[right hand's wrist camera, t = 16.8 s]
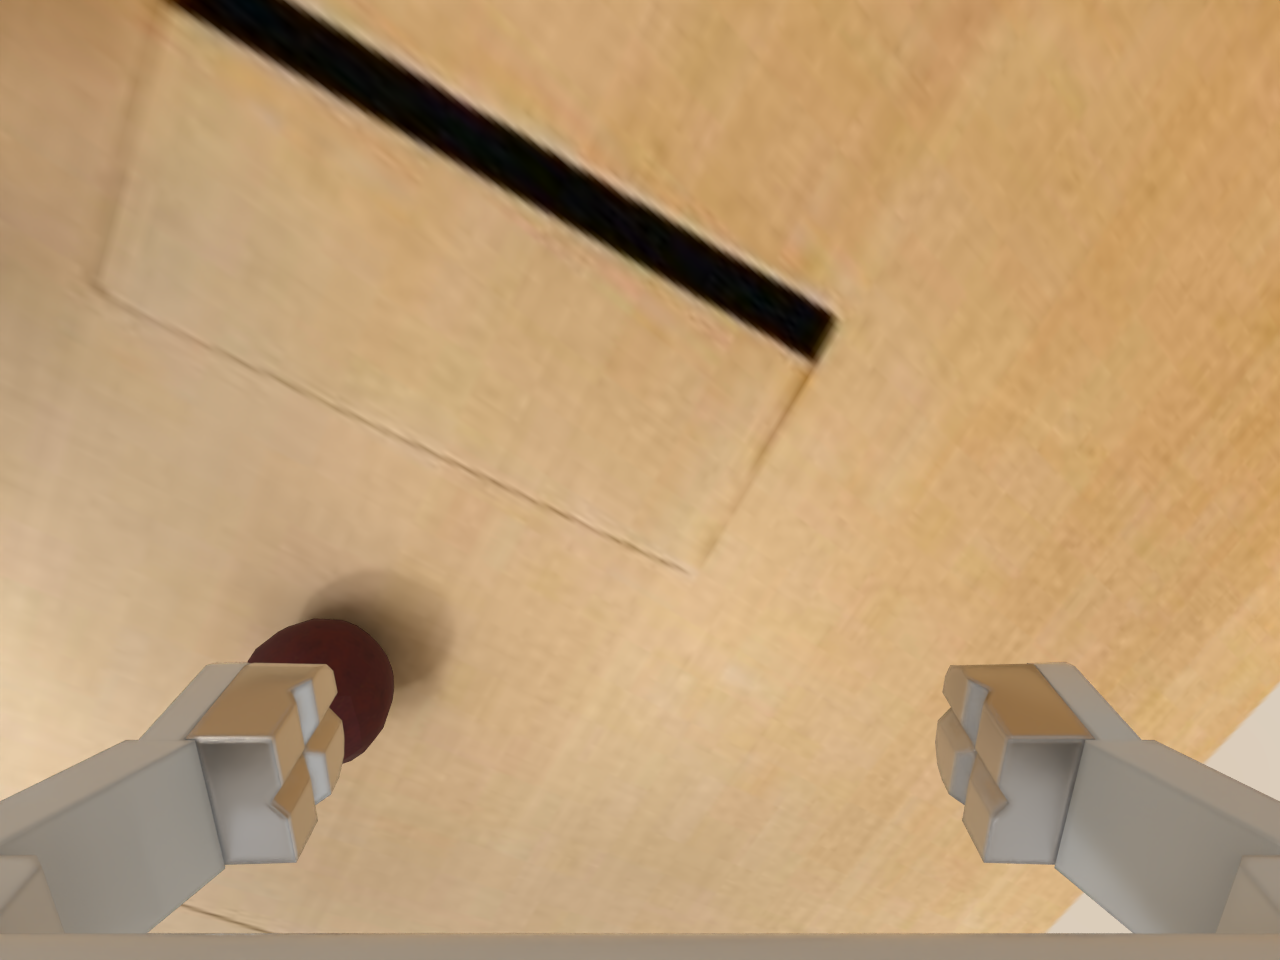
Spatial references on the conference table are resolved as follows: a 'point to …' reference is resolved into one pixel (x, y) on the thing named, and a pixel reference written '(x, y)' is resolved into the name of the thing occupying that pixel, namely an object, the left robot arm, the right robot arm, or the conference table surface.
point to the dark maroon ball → (340, 673)
